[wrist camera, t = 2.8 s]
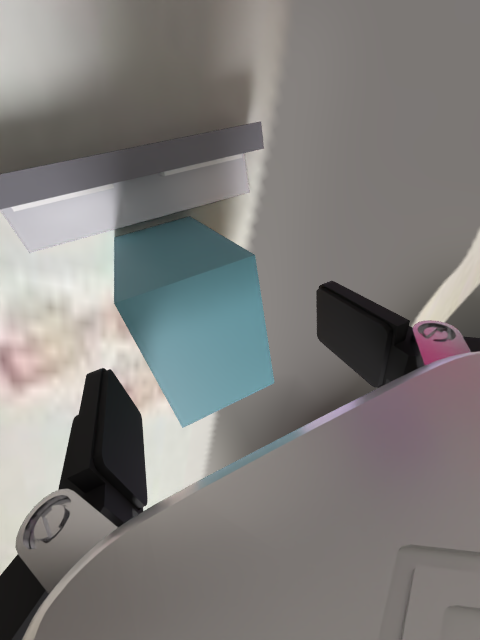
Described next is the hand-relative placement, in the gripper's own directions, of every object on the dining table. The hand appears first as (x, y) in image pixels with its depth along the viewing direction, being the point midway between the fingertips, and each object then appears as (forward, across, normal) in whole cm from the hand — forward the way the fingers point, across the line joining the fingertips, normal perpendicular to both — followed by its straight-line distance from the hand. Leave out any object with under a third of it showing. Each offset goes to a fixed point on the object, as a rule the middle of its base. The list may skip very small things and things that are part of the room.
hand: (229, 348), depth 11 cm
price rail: (+10, +1, -6) cm, 11 cm away
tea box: (+10, +1, 0) cm, 10 cm away
